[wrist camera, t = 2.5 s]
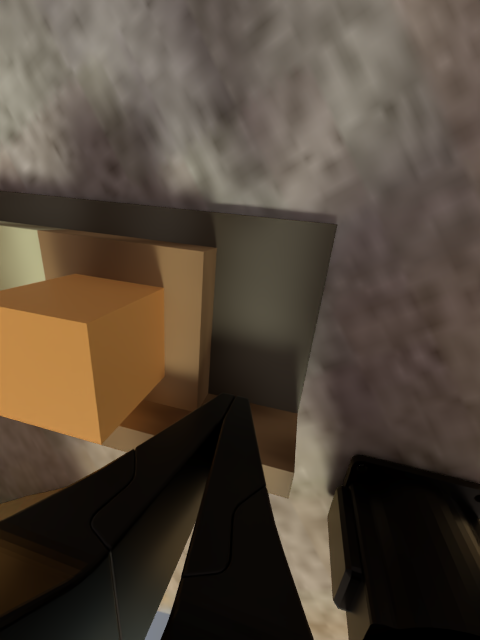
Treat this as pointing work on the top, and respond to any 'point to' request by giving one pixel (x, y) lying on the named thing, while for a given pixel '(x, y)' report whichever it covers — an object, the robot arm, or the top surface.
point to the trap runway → (192, 302)
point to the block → (79, 353)
